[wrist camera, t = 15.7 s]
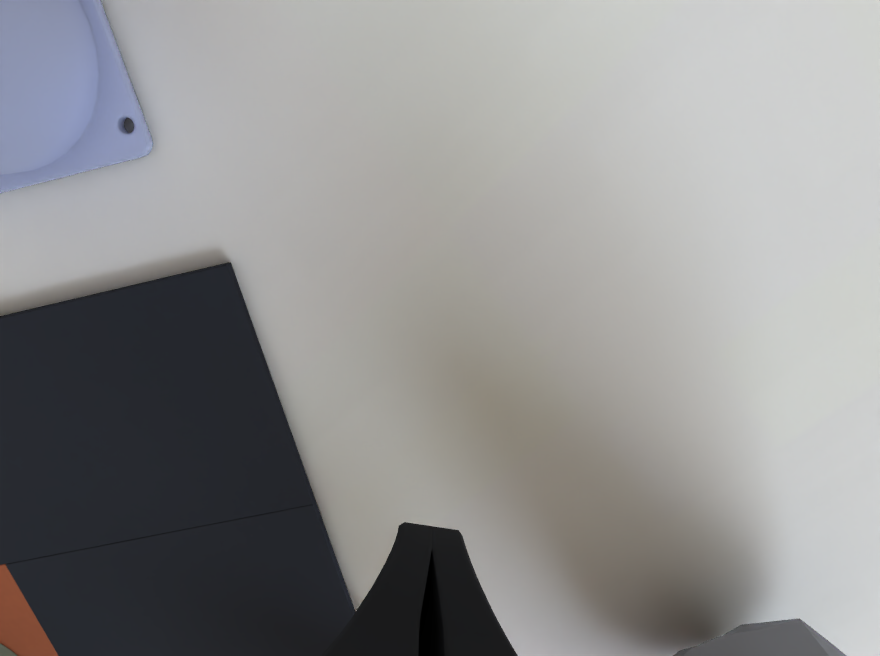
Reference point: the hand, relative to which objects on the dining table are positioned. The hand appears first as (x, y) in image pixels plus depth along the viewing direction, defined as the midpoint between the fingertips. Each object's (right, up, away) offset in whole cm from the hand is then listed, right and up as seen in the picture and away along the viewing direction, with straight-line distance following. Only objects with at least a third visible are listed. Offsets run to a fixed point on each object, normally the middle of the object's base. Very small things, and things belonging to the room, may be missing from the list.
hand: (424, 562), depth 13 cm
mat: (-16, -4, +12) cm, 21 cm away
